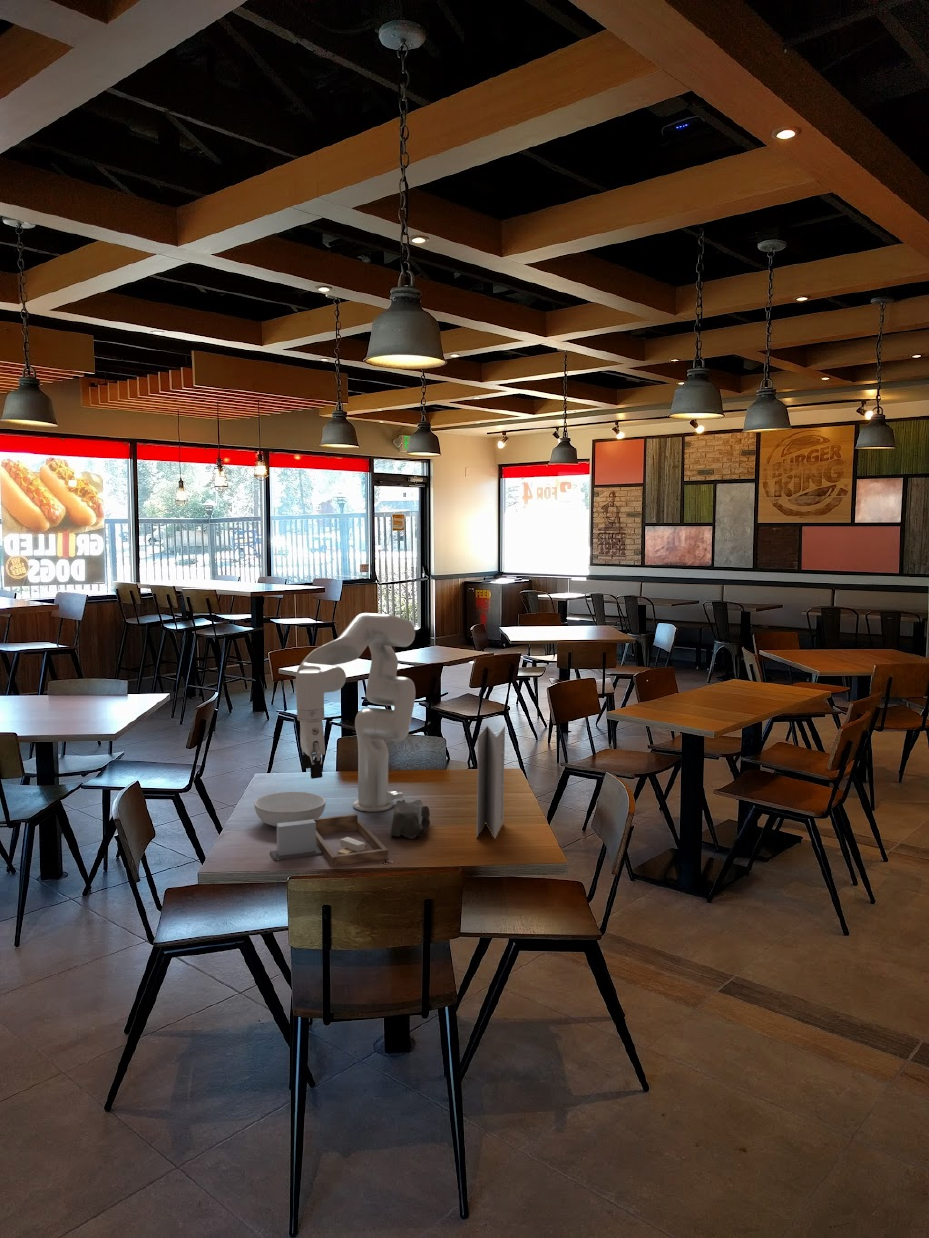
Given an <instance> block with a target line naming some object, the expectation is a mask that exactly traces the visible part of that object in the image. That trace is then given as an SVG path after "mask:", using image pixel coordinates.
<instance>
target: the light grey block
mask: <svg viewBox="0 0 929 1238" xmlns="http://www.w3.org/2000/svg"><path fill="white" fill-rule="evenodd" d="M276 850H277V853H278V855H279V856H282V855H290V854H298V853H305V852H313V851H316V822H315V821H314V820H313V819H311V820H303V821H294V822H285V823H277V827H276Z"/></svg>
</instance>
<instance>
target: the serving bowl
mask: <svg viewBox="0 0 929 1238" xmlns="http://www.w3.org/2000/svg"><path fill="white" fill-rule="evenodd" d="M325 808H326V799H325V798H324V797H323V796H321V795H319V794H317V793H313V792H312V793H310V792H305V791H284V792H283V791H282V792H274V793H270V794H266V795H264V796H261V797H258V798H257V799H256V800H255V801H254V811H255V814H256V815H257V817H258V818H259V820H261V822H263V823H265V824H267V825H269V826H272V827H276V828H277V823H285V822H294V821H303V820H311V819H316V818H321V816H322V815H323V813H324V811H325Z"/></svg>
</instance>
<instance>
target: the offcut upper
mask: <svg viewBox="0 0 929 1238" xmlns="http://www.w3.org/2000/svg"><path fill="white" fill-rule="evenodd" d="M365 844H366V843H365V842H364V841H360V840H358V839H355V838H352V837H349V836H346V837H344V838H340V846H341V847H343V848H348V849H351V850H354V851H357V852H359V851H362V850H365Z"/></svg>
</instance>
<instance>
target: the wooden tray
mask: <svg viewBox="0 0 929 1238" xmlns="http://www.w3.org/2000/svg"><path fill="white" fill-rule="evenodd" d="M358 819H359V817H358V814H357V813H353V814H343V815H334V816H325V817H319V818H316V819H313V820H314V821H315V822H316V845H317V846H318V847H319V849H320V850H321V851H322V855H323V856H324V857H325V859H326V860H327V861H328V863H329V864H330V865H331V867H335V866H343V865H351V864H358V863H363V862H364V863H366V862H373V861H380V860H387V859H389V849H388V848H387V847H386V846H385V845H384V844H383V843H382V841H380V839H379V838H378V837H377V836H375V834H374V833H373V832H372V831H371V830H370V829H369V828H368V827H367V826H366V824H364V822H362V820H361V819H360V820H358ZM352 831H358V832H359V833H360V835H362V837H363V838H364V839H365V840H366V841H367V842H368V843H369V844H370V846H371V847H372V848H373V849H372V850H366V851H363V852H356V853H348V854H340V855H338V854H336V853H334V851H333V850H332V849H331V848H330V847H329V844H327V842H326V841H325V840H324V838H323V837H322V836H321V835H327V834H336V833H345V832H352Z"/></svg>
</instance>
